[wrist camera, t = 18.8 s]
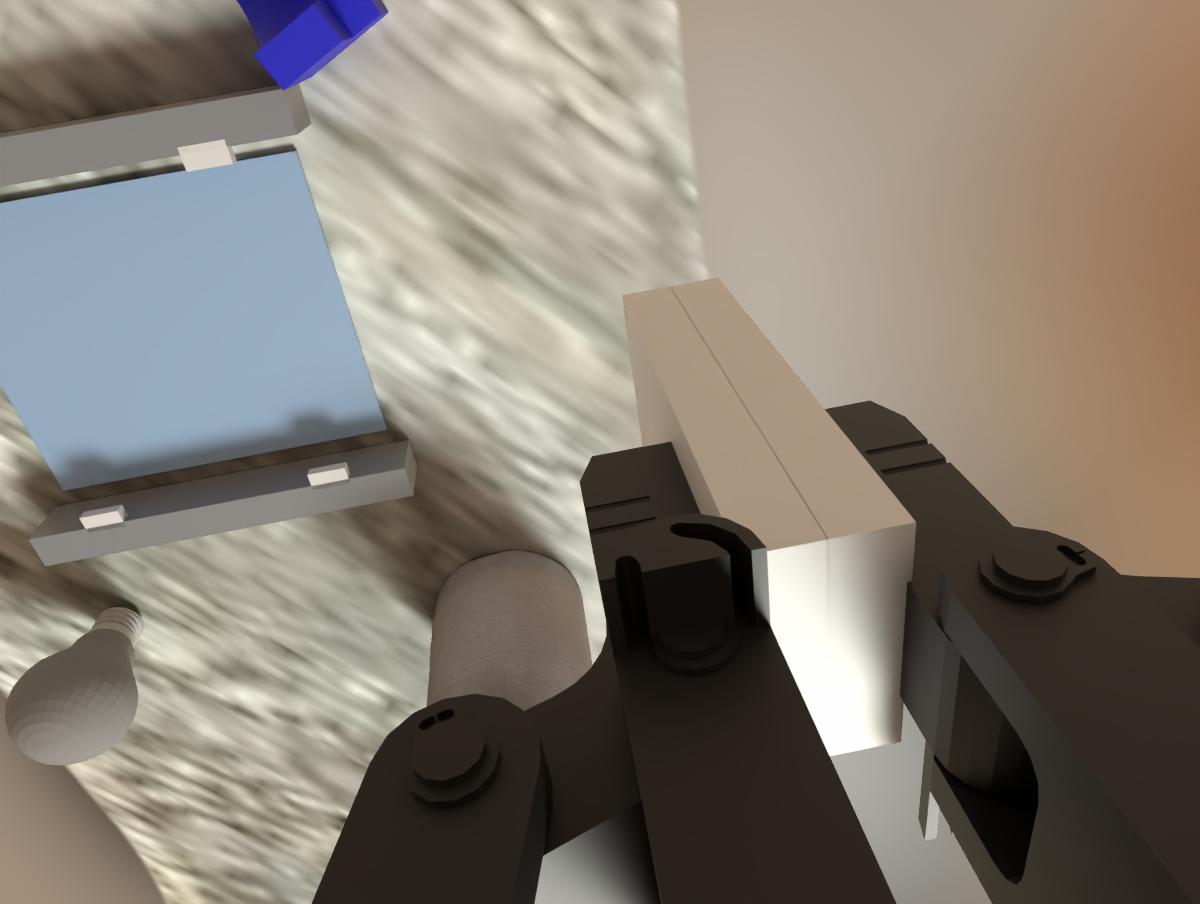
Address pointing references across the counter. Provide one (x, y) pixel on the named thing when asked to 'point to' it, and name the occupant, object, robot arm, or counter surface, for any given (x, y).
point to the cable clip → (306, 33)
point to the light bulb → (78, 694)
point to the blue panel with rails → (182, 328)
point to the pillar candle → (508, 631)
